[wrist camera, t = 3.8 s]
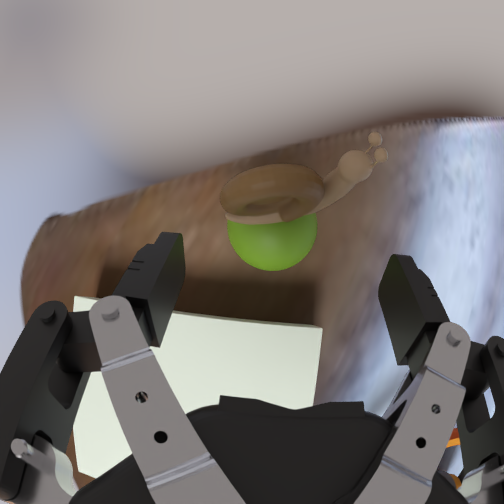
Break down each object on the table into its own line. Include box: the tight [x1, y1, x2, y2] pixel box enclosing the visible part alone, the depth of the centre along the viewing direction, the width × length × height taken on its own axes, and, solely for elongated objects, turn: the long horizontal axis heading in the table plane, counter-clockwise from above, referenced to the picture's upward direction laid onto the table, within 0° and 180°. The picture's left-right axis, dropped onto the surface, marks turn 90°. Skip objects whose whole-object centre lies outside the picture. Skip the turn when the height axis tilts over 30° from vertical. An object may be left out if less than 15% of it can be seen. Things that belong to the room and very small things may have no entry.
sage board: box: [73, 296, 323, 478], centre depth 18 cm, size 16×14×3 cm
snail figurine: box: [220, 132, 388, 271], centre depth 15 cm, size 5×6×12 cm
